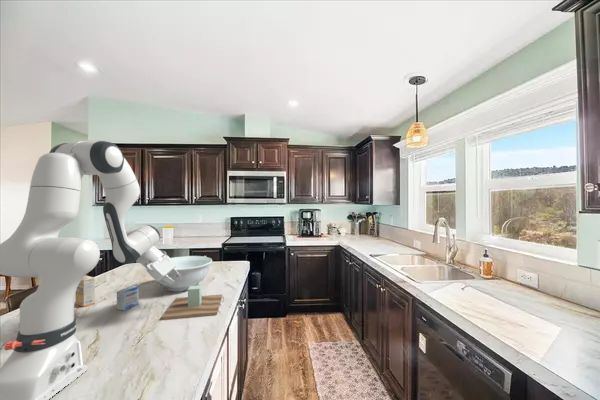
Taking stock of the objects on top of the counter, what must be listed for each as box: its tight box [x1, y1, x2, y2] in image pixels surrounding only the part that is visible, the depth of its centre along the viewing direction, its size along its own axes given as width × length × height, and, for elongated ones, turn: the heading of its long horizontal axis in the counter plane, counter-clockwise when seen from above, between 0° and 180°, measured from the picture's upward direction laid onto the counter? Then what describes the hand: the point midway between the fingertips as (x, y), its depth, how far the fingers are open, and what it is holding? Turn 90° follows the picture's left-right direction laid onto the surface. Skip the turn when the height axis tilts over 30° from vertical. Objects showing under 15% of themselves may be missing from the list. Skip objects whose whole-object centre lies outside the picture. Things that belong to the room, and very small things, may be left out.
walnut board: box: [161, 294, 223, 321], centre depth 121 cm, size 22×22×1 cm
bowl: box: [156, 255, 213, 292], centre depth 150 cm, size 32×32×15 cm
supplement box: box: [75, 274, 96, 308], centre depth 125 cm, size 8×5×13 cm, turn 62°
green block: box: [187, 284, 203, 307], centre depth 121 cm, size 5×5×8 cm
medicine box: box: [116, 285, 140, 312], centre depth 122 cm, size 8×4×9 cm, turn 168°
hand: (176, 279), depth 119 cm, fingers open, 8 cm apart
